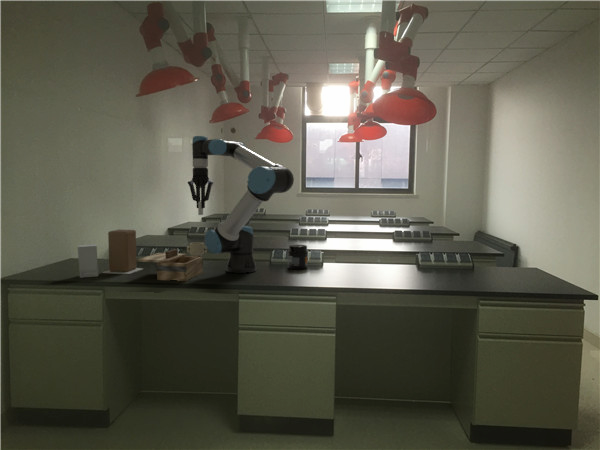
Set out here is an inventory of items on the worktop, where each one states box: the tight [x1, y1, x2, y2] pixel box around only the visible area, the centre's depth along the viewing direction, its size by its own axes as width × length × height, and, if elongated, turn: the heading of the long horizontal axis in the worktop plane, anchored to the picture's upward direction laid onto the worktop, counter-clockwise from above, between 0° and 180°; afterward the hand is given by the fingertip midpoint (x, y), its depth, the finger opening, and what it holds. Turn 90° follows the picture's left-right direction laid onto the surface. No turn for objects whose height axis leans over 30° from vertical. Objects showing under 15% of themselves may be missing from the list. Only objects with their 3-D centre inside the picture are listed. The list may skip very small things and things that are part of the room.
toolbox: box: [156, 255, 204, 282], centre depth 218 cm, size 14×21×8 cm
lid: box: [136, 248, 187, 263], centre depth 219 cm, size 15×21×4 cm
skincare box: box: [77, 243, 99, 279], centre depth 215 cm, size 8×6×15 cm
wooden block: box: [107, 229, 138, 272], centre depth 228 cm, size 10×10×20 cm
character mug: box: [186, 241, 208, 258], centre depth 240 cm, size 11×7×13 cm, turn 85°
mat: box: [102, 267, 144, 275], centre depth 229 cm, size 14×14×1 cm
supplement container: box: [287, 244, 309, 271], centre depth 242 cm, size 10×10×12 cm
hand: (200, 214), depth 231 cm, fingers closed
